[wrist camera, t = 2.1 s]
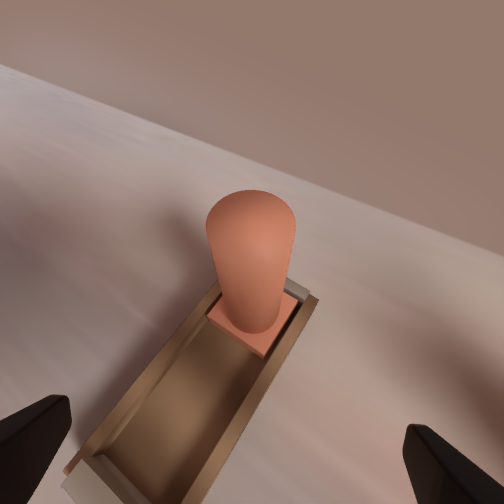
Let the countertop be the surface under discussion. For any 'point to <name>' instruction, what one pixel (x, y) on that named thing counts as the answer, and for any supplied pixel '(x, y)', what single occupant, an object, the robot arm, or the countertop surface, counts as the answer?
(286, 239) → the slider knob
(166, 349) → the track
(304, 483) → the countertop surface
